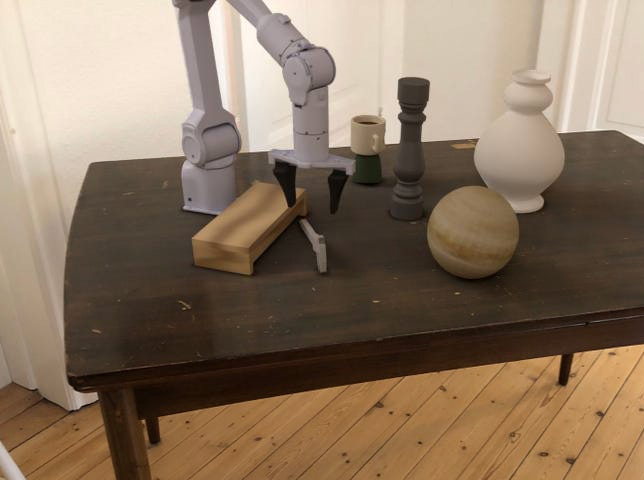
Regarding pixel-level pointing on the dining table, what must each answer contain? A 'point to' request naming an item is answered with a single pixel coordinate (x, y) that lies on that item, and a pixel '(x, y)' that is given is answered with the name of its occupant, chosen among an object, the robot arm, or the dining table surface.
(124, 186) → the dining table surface
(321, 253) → the caliper
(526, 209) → the decorative vase
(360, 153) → the character mug
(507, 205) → the decorative ball
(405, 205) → the candle holder
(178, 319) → the dining table surface
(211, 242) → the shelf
